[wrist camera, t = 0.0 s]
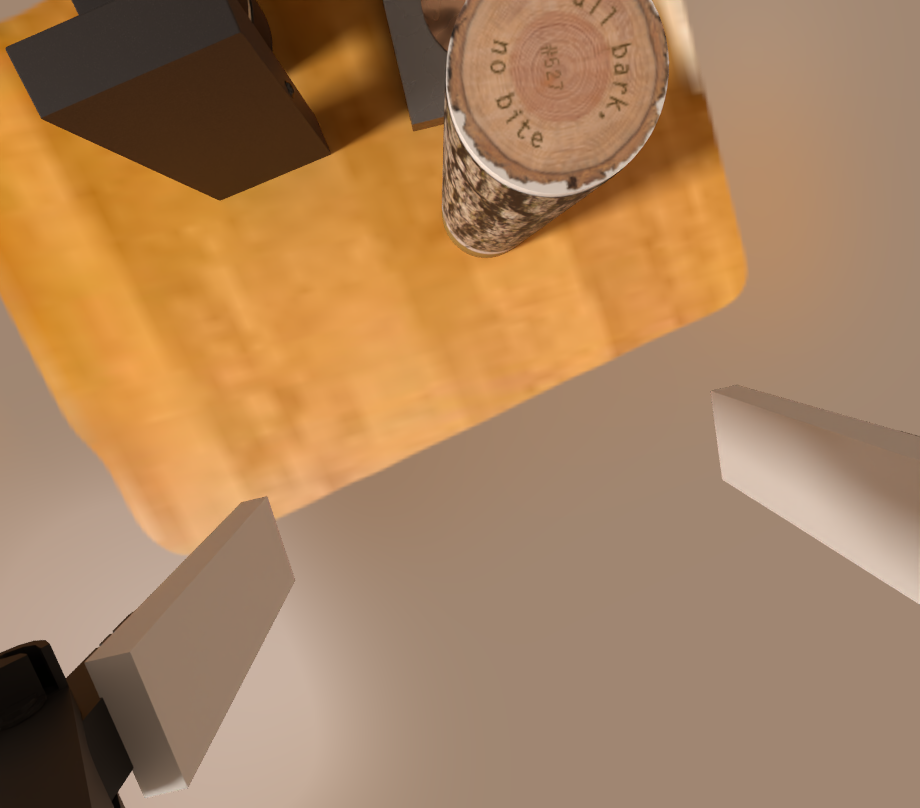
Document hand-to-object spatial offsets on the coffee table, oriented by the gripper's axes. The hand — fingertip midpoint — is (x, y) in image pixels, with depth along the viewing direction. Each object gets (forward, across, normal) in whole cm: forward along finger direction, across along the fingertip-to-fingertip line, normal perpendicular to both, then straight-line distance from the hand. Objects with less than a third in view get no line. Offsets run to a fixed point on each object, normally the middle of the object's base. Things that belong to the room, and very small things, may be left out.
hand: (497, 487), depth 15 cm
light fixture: (+28, -11, +24) cm, 39 cm away
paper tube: (+28, +5, +11) cm, 31 cm away
